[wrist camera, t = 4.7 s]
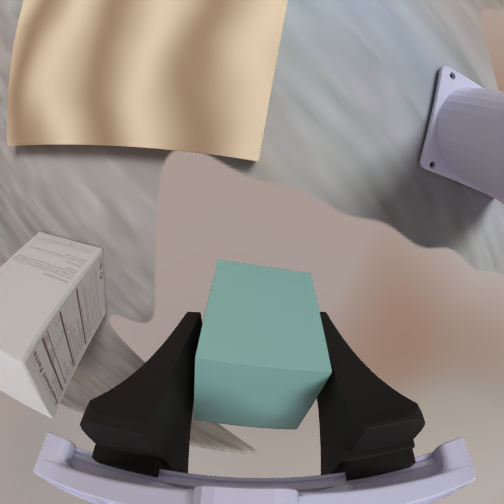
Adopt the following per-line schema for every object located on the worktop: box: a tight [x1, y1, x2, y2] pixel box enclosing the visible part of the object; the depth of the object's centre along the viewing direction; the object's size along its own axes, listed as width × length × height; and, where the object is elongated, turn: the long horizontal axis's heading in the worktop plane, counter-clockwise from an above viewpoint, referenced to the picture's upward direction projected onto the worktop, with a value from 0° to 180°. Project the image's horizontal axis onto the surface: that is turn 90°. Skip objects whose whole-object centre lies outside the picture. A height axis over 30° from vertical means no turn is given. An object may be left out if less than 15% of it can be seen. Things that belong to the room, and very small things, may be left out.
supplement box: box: [0, 232, 106, 419], centre depth 18 cm, size 7×7×13 cm
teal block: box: [194, 259, 332, 429], centre depth 13 cm, size 4×4×6 cm
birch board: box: [7, 0, 288, 161], centre depth 13 cm, size 20×16×2 cm
